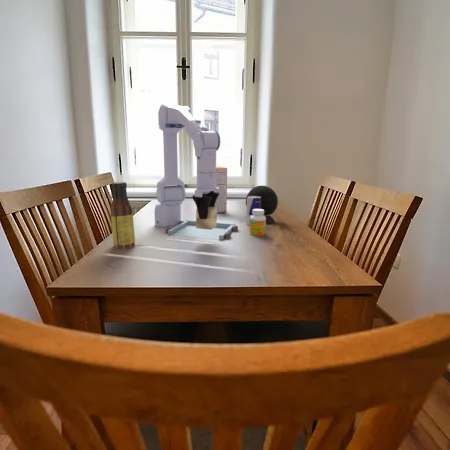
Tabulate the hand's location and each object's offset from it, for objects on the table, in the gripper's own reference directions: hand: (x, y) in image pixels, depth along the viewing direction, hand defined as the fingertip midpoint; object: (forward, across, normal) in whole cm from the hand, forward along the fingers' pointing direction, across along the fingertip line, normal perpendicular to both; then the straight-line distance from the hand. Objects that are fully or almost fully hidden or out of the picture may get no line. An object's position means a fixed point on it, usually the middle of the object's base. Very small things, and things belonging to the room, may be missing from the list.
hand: (206, 217), depth 105 cm
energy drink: (+9, +28, -10) cm, 31 cm away
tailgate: (+9, +2, +5) cm, 10 cm away
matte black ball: (+10, +40, -10) cm, 43 cm away
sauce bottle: (+9, -10, +22) cm, 27 cm away
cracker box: (+9, +56, +14) cm, 59 cm away
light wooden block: (+3, 0, 0) cm, 3 cm away
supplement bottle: (+10, +16, -14) cm, 23 cm away
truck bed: (+9, +12, +5) cm, 16 cm away
